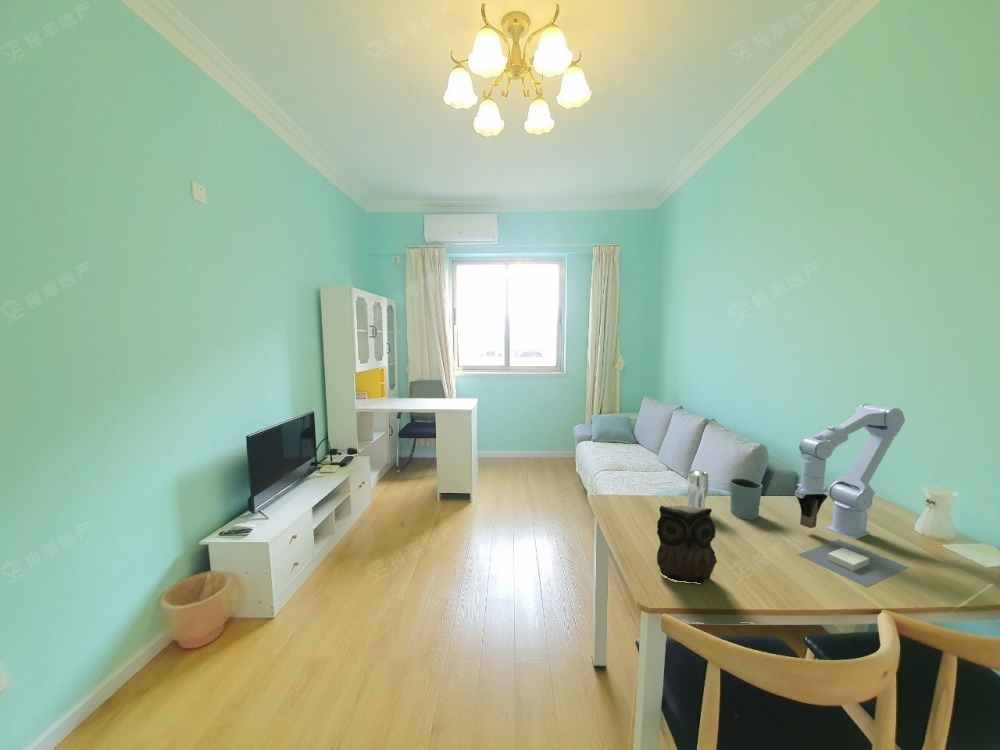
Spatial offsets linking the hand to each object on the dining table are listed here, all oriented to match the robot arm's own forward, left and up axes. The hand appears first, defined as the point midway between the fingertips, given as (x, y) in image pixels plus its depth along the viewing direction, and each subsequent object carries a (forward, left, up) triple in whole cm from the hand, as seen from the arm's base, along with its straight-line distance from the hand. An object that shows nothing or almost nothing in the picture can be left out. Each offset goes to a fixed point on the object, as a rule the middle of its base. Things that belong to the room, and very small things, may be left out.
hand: (809, 515), depth 122 cm
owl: (+55, -2, -7) cm, 56 cm away
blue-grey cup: (+5, -18, -7) cm, 20 cm away
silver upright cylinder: (+20, -26, -7) cm, 34 cm away
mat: (+6, +14, -7) cm, 17 cm away
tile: (+4, +14, -5) cm, 16 cm away
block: (0, 0, -4) cm, 4 cm away
